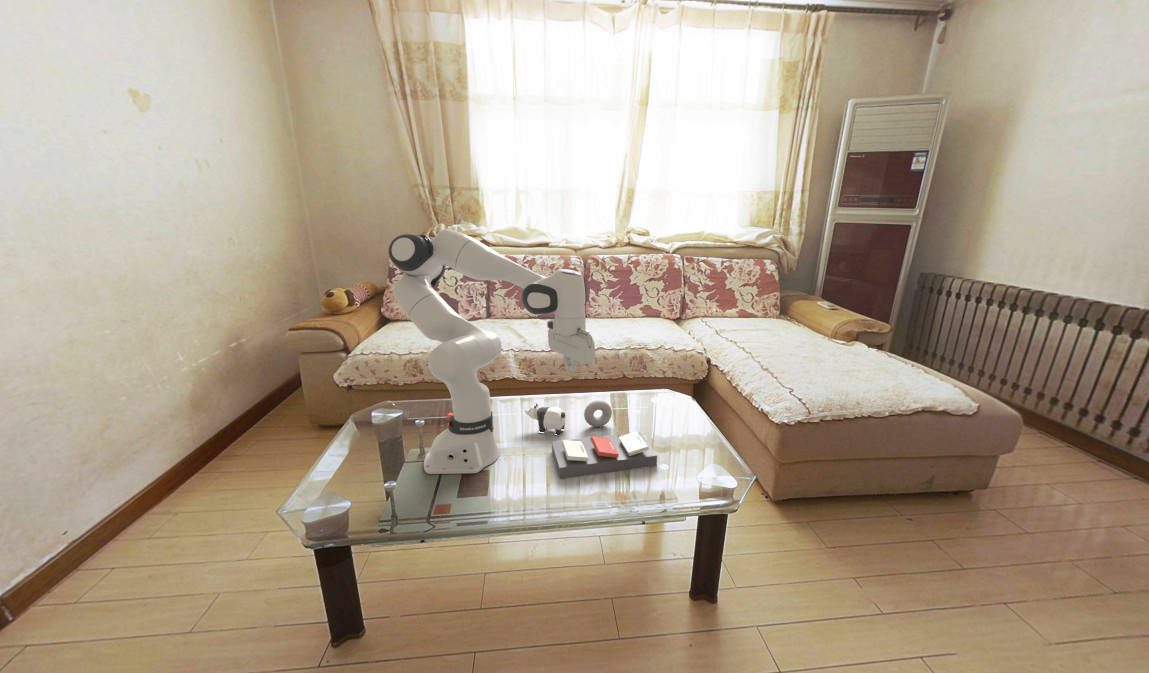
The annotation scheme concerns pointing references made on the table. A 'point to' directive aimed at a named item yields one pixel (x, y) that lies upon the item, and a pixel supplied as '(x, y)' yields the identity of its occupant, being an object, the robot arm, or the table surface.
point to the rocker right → (633, 443)
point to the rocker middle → (604, 447)
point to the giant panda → (548, 417)
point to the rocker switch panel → (601, 459)
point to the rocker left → (574, 450)
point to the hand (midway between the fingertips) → (571, 370)
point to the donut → (603, 418)
